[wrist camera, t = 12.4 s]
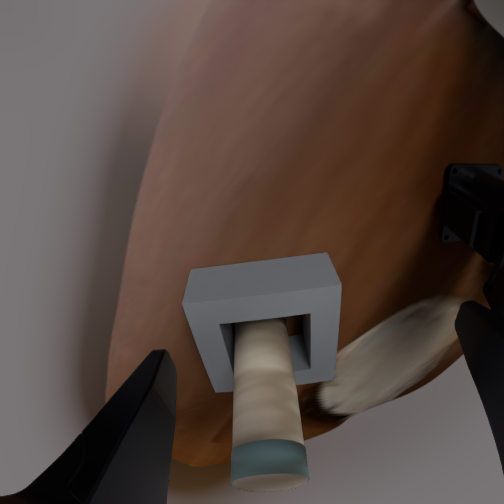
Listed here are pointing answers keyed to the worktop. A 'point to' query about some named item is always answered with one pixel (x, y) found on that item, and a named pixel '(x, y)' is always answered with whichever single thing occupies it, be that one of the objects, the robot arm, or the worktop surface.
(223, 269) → the socket block
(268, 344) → the birch peg
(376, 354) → the worktop surface
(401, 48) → the worktop surface
